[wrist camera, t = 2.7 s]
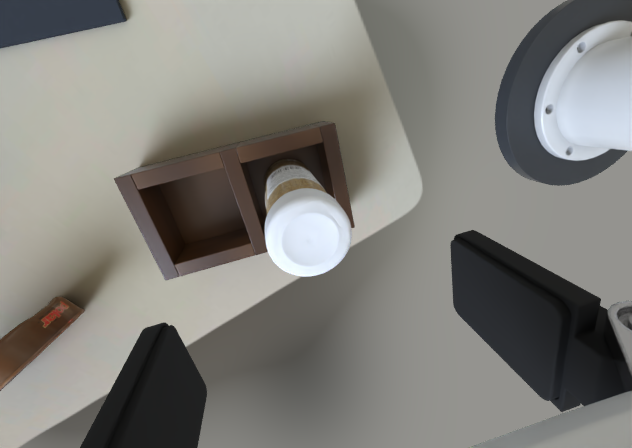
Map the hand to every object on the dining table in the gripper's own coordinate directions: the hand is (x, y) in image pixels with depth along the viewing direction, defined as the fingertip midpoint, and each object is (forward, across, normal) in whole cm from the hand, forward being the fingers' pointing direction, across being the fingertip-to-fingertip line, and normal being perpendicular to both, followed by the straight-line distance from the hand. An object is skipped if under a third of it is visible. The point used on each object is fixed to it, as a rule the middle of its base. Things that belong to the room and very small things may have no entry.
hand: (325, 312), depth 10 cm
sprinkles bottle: (+19, -1, 0) cm, 19 cm away
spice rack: (+20, +3, 0) cm, 20 cm away
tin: (+20, +27, +8) cm, 35 cm away
